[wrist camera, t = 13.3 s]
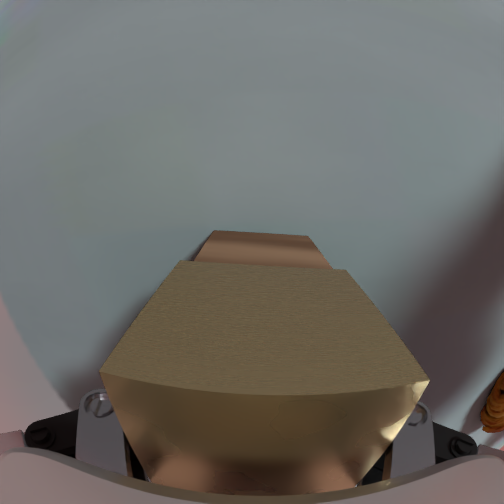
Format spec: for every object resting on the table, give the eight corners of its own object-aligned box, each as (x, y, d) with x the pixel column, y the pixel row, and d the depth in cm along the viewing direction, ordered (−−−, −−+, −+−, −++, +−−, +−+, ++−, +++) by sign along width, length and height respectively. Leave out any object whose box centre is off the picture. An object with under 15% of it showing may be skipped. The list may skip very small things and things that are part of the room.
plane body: (213, 230, 14) (119, 385, 4) (308, 236, 14) (414, 391, 4) (216, 429, 19) (202, 543, 9) (275, 432, 19) (281, 546, 9)
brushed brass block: (179, 260, 10) (98, 371, 4) (345, 269, 10) (430, 380, 4) (190, 396, 12) (164, 502, 6) (313, 401, 12) (334, 506, 6)
